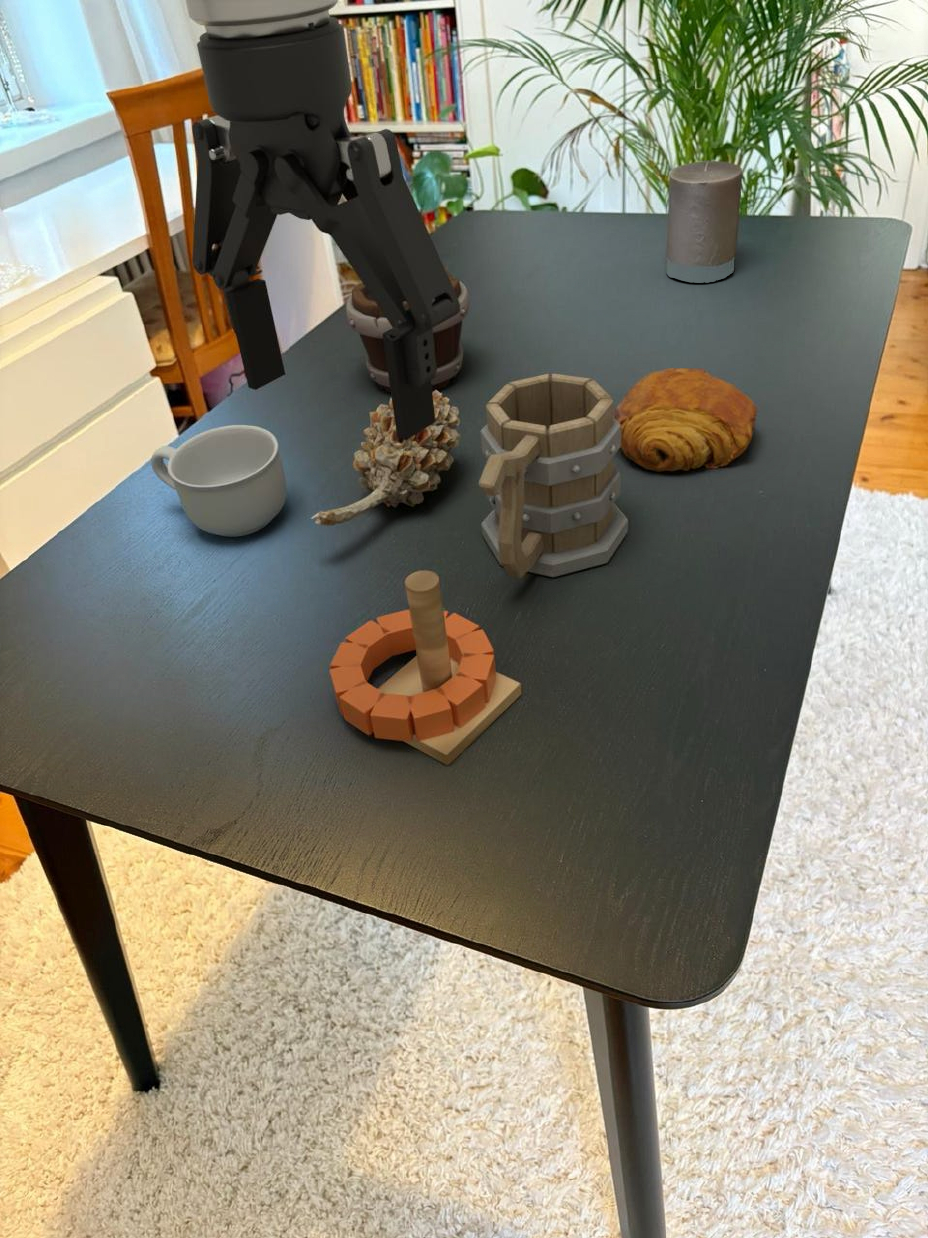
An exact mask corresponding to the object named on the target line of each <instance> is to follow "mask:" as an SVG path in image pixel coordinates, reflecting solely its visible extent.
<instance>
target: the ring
mask: <svg viewBox="0 0 928 1238" xmlns="http://www.w3.org/2000/svg"><path fill="white" fill-rule="evenodd" d="M443 611H444V619H445V626H446V633H447V641H448V648H449V656H450V657H451V658H452V659H454V660H456V661H458V663H459V668H458V671H457V674H456V675H454V676H453V677H452V678H451V679H449V680H448V681H447V682H445V683H444V684H443V685H442V686H440V687H439V688H437V689H434V690H430V691H426V692H423V693H419V694H415V695H412V696H407V695H397V694H387V693H383V692H381V691H380V690H378V688H376V687H375V686H373V685H372V684H371V683H369V679H370V677H371V675H372V672H373V670H375V669H376V668H377V667H379V666H380V665H381V664H383V663H384V662H385V661H387V660H388V659H390V658H391V657H393V656H396V655H401V654H404V653H409V652H412V651H416V648H415V642H414V636H413V629H412V623H411V617H410V611H409V608H408V609H404V610H400V611H396V612H393V613H389V614H385V615H380V616H377V617H376V622H375V621H373V620H372V619H370V620H369V621H366V623H364V624H363V625H362V626H360V627H358V628H357V629H355V630H354V631H353V632H351V633H350V634H348V635H346V636H345V638H344V639H345V641H341V642H340V644H339V646H338V648H337V650H336V652H335V654H334V656H333V658H332V660H331V662H330V664H329V666H330V669H329V675H330V679H331V683H332V688H333V692H334V696H335V699H336V702H337V706H338V709H339V712H340V715H341V716H343V718H344V720H345V721H346V722H348V723H350V724H351V725H352V726H354V727H355V728H357V729H358V730H360V731H361V732H363V733H364V734H365V735H367V736H371V735H372V734H374V738H375V739H381V740H391V741H400V742H404V741H408V742H411V740H412V737H413V735H414V732H415V735H416V738H417V740H418V741H421V740H425V739H428V738H432V737H435V736H439V735H443V734H446V733H450V732H453V731H454V724H455V725H457V726H458V727H460V728H461V727H462V726H463V725H464V724H466V723H467V722H468V721H469V720H471V719H472V718H473V717H474V716H475V715H477V714H478V713H479V712H480V711H481V710H483V709H484V708H485V702H487V703H489V701H490V697H491V694H492V691H493V687H494V684H495V681H496V672H497V669H496V657H495V651H494V648H493V646H492V644H491V642H490V640H489V638H488V636H487V634H486V632H485V630H484V629H483V628H481V629H480V625H479V624H477V623H475V622H474V621H472V620H469V619H467V618H465V617H463V616H461V615H460V614H458V613H456V612H452V613H451V614H450V611H448V610H443Z"/></svg>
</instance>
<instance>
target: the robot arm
mask: <svg viewBox="0 0 928 1238" xmlns="http://www.w3.org/2000/svg"><path fill="white" fill-rule="evenodd" d="M337 3H339V0H185V4H186V9H187V12H188V17H189V19H190V20H192V21H193V22H194V23H195V24H198V25H199V26H204V29H205V32H204V33H202V34H201V35H200V36H199V38H198V39H199V41H198V42H197V44H196V47H197V52H198V56H199V61H200V65H201V70H202V75H203V78H204V79H203V80H204V83H205V88H206V92H207V97H208V102H209V105H210V108H211V110H212V112H214V114H216V115H214V116H211V117H207V118H204V119H200V120H198V121H194V122H193V124H192V125H191V126H192V127H191V129H192V137H193V143H194V149H195V154H196V161H197V167H196V183H195V184H196V185H195V186H196V187H195V203H194V221H193V222H194V223H193V240H192V258H191V261H192V266H193V268H194V270H195V272H196V273H197V274H198V275H202V276H204V275H206V274H208V275H210V276H211V277H212V280H213V282H214V284H215V285H216V287H217V288H218V289H219V290H222V293H223V298H224V302H225V306H226V311H227V315H228V317H229V318H228V319H229V323H230V327H231V329H232V330H233V333H234V334H235V337H236V342H237V345H238V350H239V354H240V358H241V362H242V366H243V371H244V375H245V378H246V379H245V380H246V383H247V386H248V387H247V388H249V389H252V390H255V391H257V390H259V389H260V388H263V387H264V386H266V385H269V384H270V383H272V382H274V381H276V380H278V379H279V378H282V377H284V376H286V371H285V367H284V361H283V356H282V351H281V348H280V344H279V343H280V342H279V337H278V334H277V328H276V325H275V320H274V314H273V309H272V304H271V301H270V297H269V292H268V286H267V282H266V280H264V279H261V278H256V279H253V280H250V278H252V277H253V278H254V277H255V276H257V275H259V274H261V273H263V270H262V269H260V268H261V267H260V266H259V263H260V261H261V258H262V255H263V252H264V250H265V247H266V245H267V243H268V240H269V237H270V235H271V232H272V230H273V228H274V225H275V222H276V220H277V217H278V215H279V216H281V215H285V214H291V215H292V216H293V217H296V218H298V219H299V220H300V219H301V220H307V221H310V220H311V221H312V222H313V224H314V225H315V227H316V228H317V230H318V231H319V232H321V233H323V234H327V235H329V236H330V237H331V238H332V240H333V241H334V242H335V244H336V246H337V247H338V249H339V250H340V251H341V253H342V254H343V256H344V257H345V259H346V260H347V262H348V264H349V265H350V267H351V268H352V269H353V271H354V272H355V274H356V275H357V277H358V279H359V280H360V282H361V283H363V284H364V286H365V287H366V289H367V290H368V292H369V293H370V295H371V296H372V298H373V299H374V300H375V302H376V303H377V305H378V306H379V308H380V309H381V311H382V312H383V314H384V315H385V317H386V318H387V320H388V321H389V323H390V324H391V326H392V327H393V328H392V329H390V330H388V331H386V332H385V333H383V341H384V348H385V355H386V362H387V369H388V376H389V383H390V390H391V392H390V398H392V404H393V411H394V418H395V425H396V432H397V437H398V438H401V439H404V440H408V439H409V438H411V437H412V436H414V435H416V434H417V433H419V432H420V431H422V430H423V429H425V428H426V427H428V426H430V425H431V424H433V423H434V422H436V421H435V412H434V403H433V394H432V393H433V391H432V386H431V380H432V379H434V378H435V376H436V372H437V367H436V362H435V360H436V358H435V349H434V339H433V327H435V326H437V325H439V324H441V323H442V322H444V321H446V320H448V319H450V318H451V317H453V316H455V315H457V314H458V313H459V311H460V303H459V300H458V298H457V296H456V293H455V291H454V289H453V287H452V284H451V282H450V280H449V278H448V275H447V273H446V271H445V269H446V267H444V264H443V262H442V259H441V257H440V255H439V253H438V250H437V249H436V246H435V244H434V241H433V239H432V237H431V235H430V232H429V230H428V228H427V225H426V224H425V221H424V219H423V217H422V214H421V212H420V210H419V208H418V206H417V203H416V201H415V199H414V196H413V194H412V192H411V190H410V187H409V185H408V182H407V181H406V178H405V176H404V171H403V166H402V161H401V156H400V152H399V151H400V150H399V146H398V142H397V141H398V140H397V138H396V136H395V133H393V131H392V130H390V129H387V128H384V129H382V130H379V131H376V132H373V133H370V134H367V135H365V136H364V135H362V136H352V134H351V132H350V129H349V127H348V125H347V122H346V118H345V107H346V104H347V102H348V100H349V98H350V96H351V94H352V91H353V85H352V77H351V71H350V70H351V69H350V62H349V56H348V49H347V43H346V42H347V41H346V34H345V28H344V25H343V24H341V23H340V21H339V19H338V18H336V17H334V16H330V12H329V11H330V10H331V9H332V8H335V6H336V5H337ZM342 196H343V198H344V199H345V200H346V201H343V202H341V198H342ZM340 202H341V203H340ZM214 245H215V247H213V246H214ZM404 301H406V302H407V303H408V306H409V308H408V309H405V308H404V306H403V302H404Z"/></svg>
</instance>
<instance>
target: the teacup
mask: <svg viewBox="0 0 928 1238" xmlns="http://www.w3.org/2000/svg"><path fill="white" fill-rule="evenodd" d="M279 450H280V447H279V443H278V440H277V438H276V437H275V435H274V434H273V433H272V432H270V431H268V430H267V429H265V428H262V427H260V426H255V425H249V424H248V425H247V424H232V425H225V426H220V427H219V426H218V427H215V428H211V429H208V430H205V431H203V432H201V433H198V434H196V435H194V436H192V437H190V438H189V439H187V440H186V441H184V442H183V443H181V444H180V445H179V446H178V447H177V448H175V447H172V446H169V445H163V446H160V447H158V448H156V450H154V452H153V453H152V455H151V458H150V464H151V469H152V470H153V472H154V474H155V475H156V476H157V478H158V479H159V480H160V481H162V482H163V483H164V484H165V485H166V486H168V487H169V488H172V490H175V491H176V494H177V497H178V499H179V500H180V503H181V506H182V508H183V510H184V513H185V514H186V516H187V518H188V519H189V520H190V522H192V524H194V526H196V528H198V529H200V530H202V531H204V532H207V533H209V534H213V535H219V536H221V537H231V538H233V537H242V536H246V535H250V534H253V533H255V532H257V531H259V530H261V529H263V528H265V527H266V526H267V525H268V524H269V523H270V522H271V521H272V520H273V519H274V518H276V516H277V515H278V514H279V513H280V511H281V510H282V509H283V506H284V504H285V502H286V499H287V491H288V490H287V481H286V475H285V472H284V471H285V470H284V467H283V463H282V458H281V455H280V451H279ZM164 459H166V460H168V462H167V464H166V463H165V460H164Z"/></svg>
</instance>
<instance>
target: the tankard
mask: <svg viewBox="0 0 928 1238" xmlns="http://www.w3.org/2000/svg"><path fill="white" fill-rule="evenodd" d="M485 412H486V413H485V414H486V424H485V425H484V426H483V427H482V429H481V430H480V441H481V449H482V450H481V451H482V453H483V455H484V456H485V457H486V460H487V461H486V463H485V466H484V468H483V470H482V473H481V474H480V475H481V476H480V478H479V481H478V487H479V488H480V489H481V491H482V492H483V494H485V495H486V499H487V501H488V502H489V504H490V505H491V507H492V509H493V510H492V511H491V512H490V513H489V514H488V515H487V516H486V518H484V520H483V521H482V522H481V523H480V525H481V534H482V537H483V538H484V540H485V542H486V543H487V545H488V547H489V548H490V550H491V552H492V553H493V555H494V557H495V559H496V560H497V562H498V564H499V565H500V566H502V567H503V568H504V570H505V572H506V573H507V575H508V576H509V577H510V578H514V579H522V577H523V576H524V575H525V574H527V572H529V573H533V574H537V575H541V576H545V577H549V578H556V577H561V576H564V575H567V574H571V573H572V574H573V573H575V572H579V571H582V570H586V569H589V568H593V567H597V566H601V565H605V564H607V563H609V562H610V560H611V558H612V557H613V555H614V553H615V552H616V550H617V549H618V548H619V546H620V544H621V543H622V541H623V540H624V538H625V537H626V535H627V534H628V532H629V518H627V517H626V515H625V514H624V512H622V510H620V508H619V507H618V505H616V503H615V502H616V500H617V499H618V498H619V496H620V495H621V480H622V479H621V472H619V470H618V469H617V468H616V467H615V465H614V456H615V455H616V454H617V452H618V451H619V449H621V425H620V424H619V423H618V422H617V421H616V420H615V418H614V399H613V398H612V396H611V395H610V394H609V393H608V392H607V391H606V390H605V389H604V388H603V387H602V386H601V385H599V383H598V382H597V381H596V380H595V379H591V378H589V377H581V376H574V375H567V374H560V373H559V374H558V373H551V376H550V374H549V373H544V374H541V375H536V376H532V377H527V378H524V379H523V378H522V379H518V380H514V381H510V382H508V383H506V384H505V385H504V386H503V387H502V388H501V389H500V390H499V391H498V392H497V393H496V394H495V395H494V396H493V397H492V398H490V400H489V401H488V402H487V403H486V404H485Z"/></svg>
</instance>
